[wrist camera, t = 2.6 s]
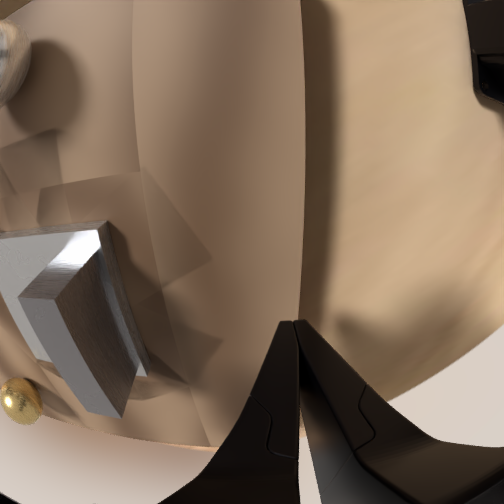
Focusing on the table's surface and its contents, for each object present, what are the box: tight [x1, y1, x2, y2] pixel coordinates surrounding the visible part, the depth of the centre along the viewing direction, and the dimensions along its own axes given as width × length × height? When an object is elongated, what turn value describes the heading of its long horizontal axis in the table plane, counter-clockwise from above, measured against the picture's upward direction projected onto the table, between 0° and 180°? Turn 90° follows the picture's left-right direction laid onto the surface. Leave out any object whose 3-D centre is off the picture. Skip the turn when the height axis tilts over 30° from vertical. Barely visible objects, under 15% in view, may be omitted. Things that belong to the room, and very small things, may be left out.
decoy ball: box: [0, 378, 43, 425], centre depth 13 cm, size 4×4×4 cm
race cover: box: [0, 220, 151, 419], centre depth 9 cm, size 7×7×4 cm
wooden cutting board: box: [0, 0, 305, 447], centre depth 12 cm, size 25×26×2 cm
